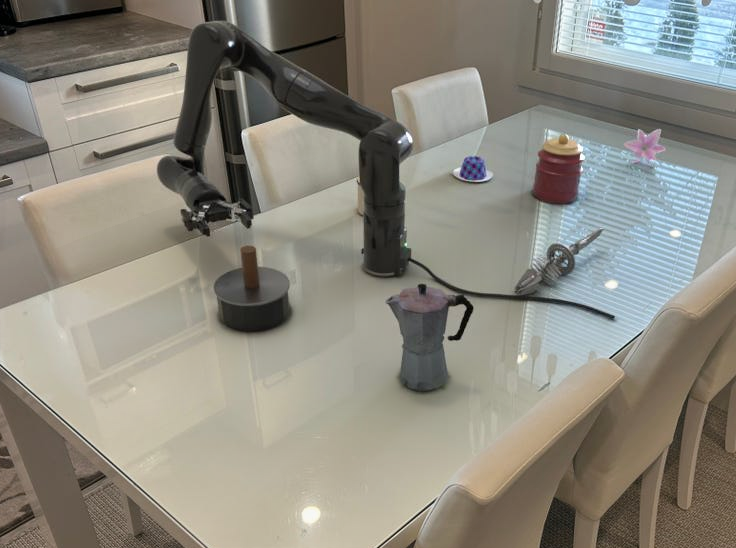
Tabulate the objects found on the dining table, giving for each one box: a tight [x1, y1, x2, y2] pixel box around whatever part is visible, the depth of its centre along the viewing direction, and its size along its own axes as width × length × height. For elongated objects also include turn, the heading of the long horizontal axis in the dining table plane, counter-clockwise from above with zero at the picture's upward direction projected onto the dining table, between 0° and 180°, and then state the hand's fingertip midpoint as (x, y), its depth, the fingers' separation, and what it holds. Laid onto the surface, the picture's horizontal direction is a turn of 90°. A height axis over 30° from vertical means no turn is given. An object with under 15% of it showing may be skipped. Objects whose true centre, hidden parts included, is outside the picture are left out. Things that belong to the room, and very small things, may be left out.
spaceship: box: [512, 227, 604, 296], centre depth 170 cm, size 8×35×8 cm
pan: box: [216, 291, 290, 333], centre depth 150 cm, size 14×14×6 cm
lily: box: [623, 128, 667, 168], centre depth 234 cm, size 12×12×10 cm
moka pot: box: [384, 283, 474, 392], centre depth 131 cm, size 10×15×20 cm, turn 95°
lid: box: [213, 245, 291, 306], centre depth 145 cm, size 15×15×9 cm
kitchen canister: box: [532, 133, 585, 205], centre depth 204 cm, size 13×13×18 cm
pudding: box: [452, 155, 494, 183], centre depth 216 cm, size 12×12×5 cm
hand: (228, 228), depth 150 cm, fingers open, 8 cm apart
